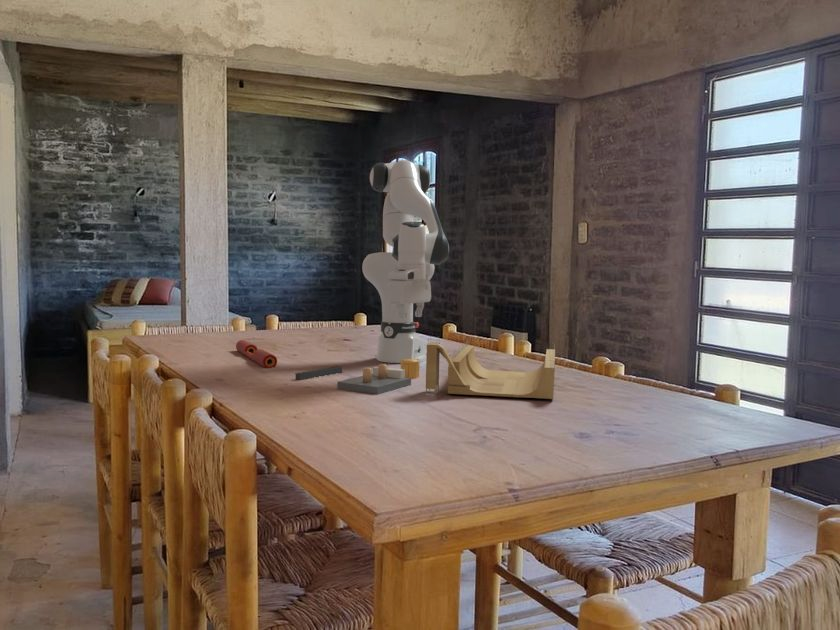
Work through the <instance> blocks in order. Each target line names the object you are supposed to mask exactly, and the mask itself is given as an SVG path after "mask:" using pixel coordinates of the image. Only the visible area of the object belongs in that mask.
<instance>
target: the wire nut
mask: <svg viewBox="0 0 840 630" xmlns="http://www.w3.org/2000/svg"><path fill="white" fill-rule="evenodd" d="M400 369H403V370H405V378H411V379H417V378H420V363H419V360H417V359H402V360H401V363H400Z"/></svg>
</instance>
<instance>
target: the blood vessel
mask: <svg viewBox="0 0 840 630" xmlns="http://www.w3.org/2000/svg"><path fill="white" fill-rule="evenodd" d="M235 350H237V352H239V353H240V354H241V355H244V356H245V357H247V358H249V360H251V361H253V362H255V363H257V364H258V365H260V366H261V367H263V368H265V369H270V368H271V369H273V368H272V367H274V368H276V366H277V365H278V359H277V357H276V355H273V354H272V353H270V352H268V351H266V350H264V349H262V348H259V349H258V347H257V345H255V344H254V343H251V342H249V341H247V340H245V339H240V340H238V341H237V342H236V345H235Z"/></svg>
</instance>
